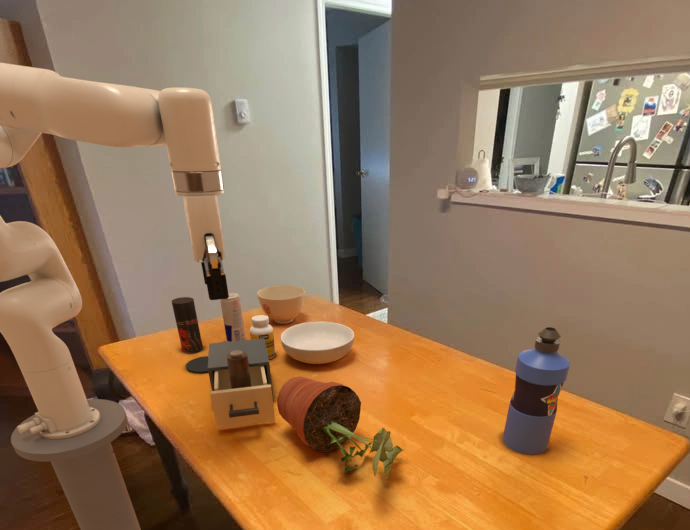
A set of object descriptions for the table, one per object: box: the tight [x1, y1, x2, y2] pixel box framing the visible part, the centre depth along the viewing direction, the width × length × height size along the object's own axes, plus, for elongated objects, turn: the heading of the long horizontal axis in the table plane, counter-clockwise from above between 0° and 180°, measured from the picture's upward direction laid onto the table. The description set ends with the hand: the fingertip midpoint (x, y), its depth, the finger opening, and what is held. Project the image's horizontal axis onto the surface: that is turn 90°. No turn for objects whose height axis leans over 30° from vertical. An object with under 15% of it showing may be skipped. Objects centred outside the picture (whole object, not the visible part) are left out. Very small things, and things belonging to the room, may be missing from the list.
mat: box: [185, 355, 209, 374], centre depth 128 cm, size 10×10×1 cm
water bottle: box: [502, 326, 571, 456], centre depth 90 cm, size 9×9×25 cm
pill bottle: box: [249, 314, 276, 360], centre depth 130 cm, size 6×6×12 cm
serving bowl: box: [280, 321, 355, 365], centre depth 132 cm, size 21×21×7 cm
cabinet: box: [207, 338, 274, 403], centre depth 113 cm, size 15×14×11 cm
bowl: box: [256, 284, 306, 325], centre depth 156 cm, size 16×16×10 cm
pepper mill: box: [226, 350, 252, 389], centre depth 101 cm, size 4×4×14 cm
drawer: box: [210, 365, 276, 430], centre depth 102 cm, size 18×12×9 cm
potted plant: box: [276, 376, 404, 481], centre depth 88 cm, size 16×15×35 cm
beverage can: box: [219, 292, 247, 342], centre depth 138 cm, size 6×6×15 cm
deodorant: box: [171, 296, 204, 355], centre depth 134 cm, size 6×6×15 cm
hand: (216, 290), depth 82 cm, fingers open, 9 cm apart
